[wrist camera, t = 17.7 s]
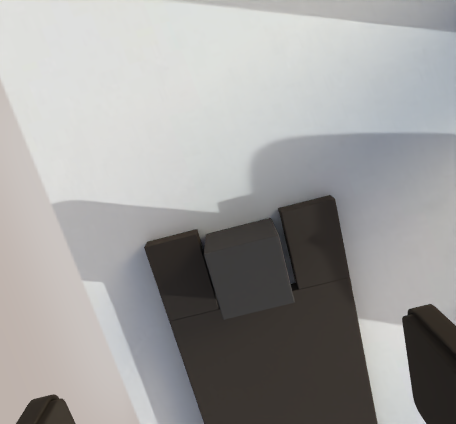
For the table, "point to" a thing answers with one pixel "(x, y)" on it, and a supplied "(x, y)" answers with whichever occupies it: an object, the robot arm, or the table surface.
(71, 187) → the table surface
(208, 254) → the dark block
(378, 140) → the table surface
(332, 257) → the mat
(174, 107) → the table surface
